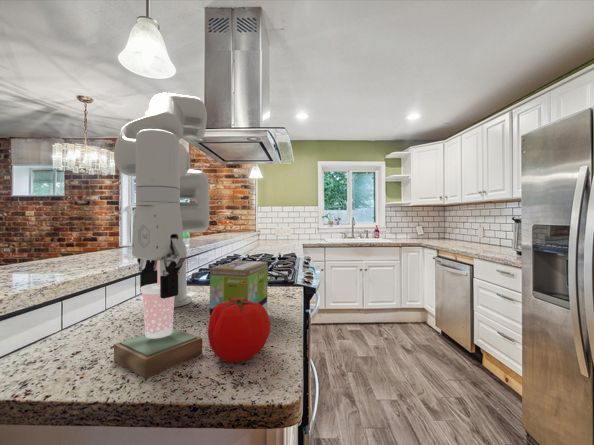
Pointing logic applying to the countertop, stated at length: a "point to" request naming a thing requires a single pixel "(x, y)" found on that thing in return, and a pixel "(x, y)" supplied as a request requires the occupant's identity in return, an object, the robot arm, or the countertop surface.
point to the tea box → (239, 282)
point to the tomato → (238, 329)
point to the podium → (157, 352)
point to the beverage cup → (157, 310)
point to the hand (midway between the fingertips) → (159, 293)
